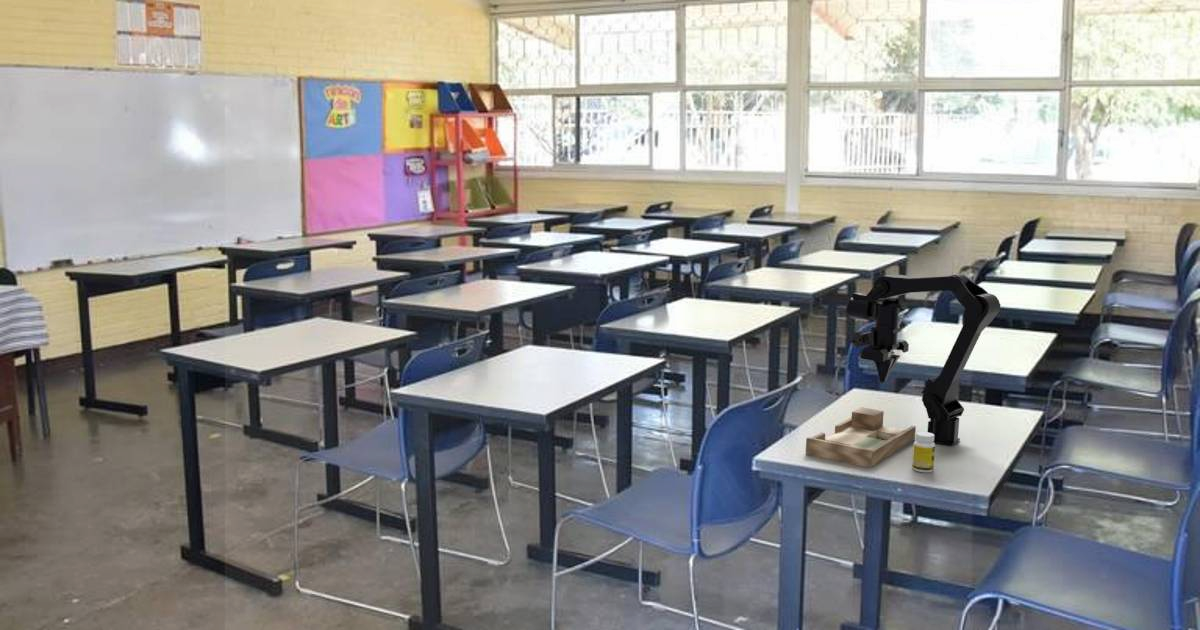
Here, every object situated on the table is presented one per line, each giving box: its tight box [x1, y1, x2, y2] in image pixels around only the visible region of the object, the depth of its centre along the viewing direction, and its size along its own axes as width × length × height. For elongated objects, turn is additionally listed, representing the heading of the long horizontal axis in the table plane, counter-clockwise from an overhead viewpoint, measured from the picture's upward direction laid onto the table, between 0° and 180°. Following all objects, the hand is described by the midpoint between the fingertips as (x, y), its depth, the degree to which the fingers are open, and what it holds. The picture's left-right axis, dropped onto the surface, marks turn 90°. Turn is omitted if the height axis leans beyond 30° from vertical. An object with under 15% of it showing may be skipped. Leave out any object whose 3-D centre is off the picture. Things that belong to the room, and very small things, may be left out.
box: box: [805, 416, 916, 468], centre depth 253 cm, size 16×29×4 cm, turn 143°
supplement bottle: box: [911, 431, 936, 473], centre depth 236 cm, size 5×5×8 cm
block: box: [851, 407, 885, 431], centre depth 264 cm, size 6×6×4 cm
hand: (882, 382), depth 270 cm, fingers closed
